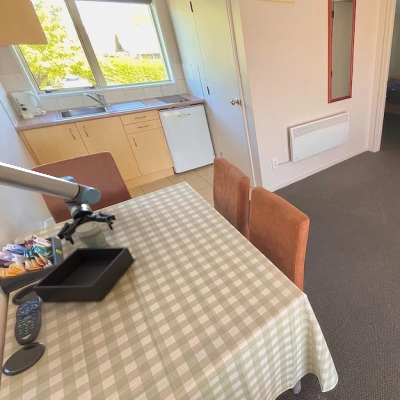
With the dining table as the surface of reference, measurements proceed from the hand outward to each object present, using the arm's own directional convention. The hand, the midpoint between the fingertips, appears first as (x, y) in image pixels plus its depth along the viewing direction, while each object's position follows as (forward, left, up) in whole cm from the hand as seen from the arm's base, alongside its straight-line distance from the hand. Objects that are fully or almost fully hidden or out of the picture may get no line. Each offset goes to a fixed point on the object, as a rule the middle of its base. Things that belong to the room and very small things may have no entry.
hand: (92, 234), depth 112 cm
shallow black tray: (+11, -19, -7) cm, 23 cm away
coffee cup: (+2, -2, -7) cm, 7 cm away
